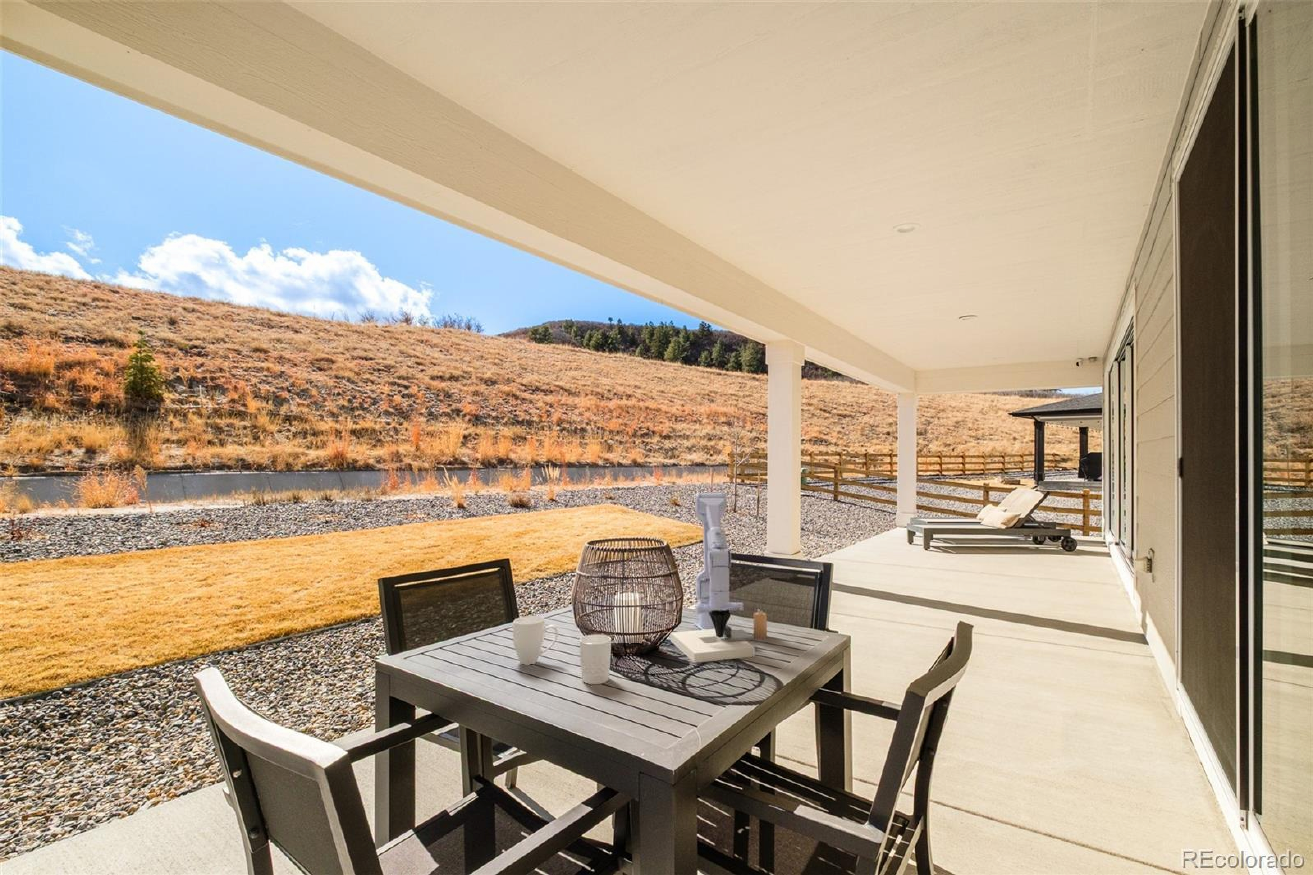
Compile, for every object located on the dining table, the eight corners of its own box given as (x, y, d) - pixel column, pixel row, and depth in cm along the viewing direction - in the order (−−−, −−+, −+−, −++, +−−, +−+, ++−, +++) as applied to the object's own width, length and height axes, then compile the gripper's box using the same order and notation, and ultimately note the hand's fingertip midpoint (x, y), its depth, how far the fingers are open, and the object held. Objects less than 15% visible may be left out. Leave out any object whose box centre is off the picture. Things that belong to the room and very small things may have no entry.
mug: (509, 668, 156) (509, 624, 156) (516, 657, 164) (517, 615, 165) (555, 667, 156) (555, 624, 156) (560, 657, 164) (560, 615, 165)
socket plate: (670, 641, 179) (670, 632, 179) (725, 635, 184) (725, 627, 185) (694, 662, 160) (694, 653, 160) (754, 656, 165) (754, 647, 165)
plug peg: (751, 635, 185) (751, 609, 185) (763, 634, 186) (762, 608, 186) (757, 639, 181) (757, 612, 181) (769, 638, 182) (769, 611, 183)
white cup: (617, 677, 149) (617, 637, 150) (598, 687, 142) (598, 645, 143) (592, 671, 153) (592, 632, 154) (572, 681, 146) (573, 640, 147)
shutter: (718, 634, 177) (718, 623, 177) (741, 632, 179) (741, 621, 180) (729, 641, 170) (729, 630, 170) (753, 639, 172) (753, 628, 172)
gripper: (701, 594, 168) (701, 642, 167) (747, 590, 172) (748, 638, 171) (692, 589, 174) (692, 635, 174) (737, 585, 179) (737, 631, 178)
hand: (719, 636), depth 173 cm, fingers closed
